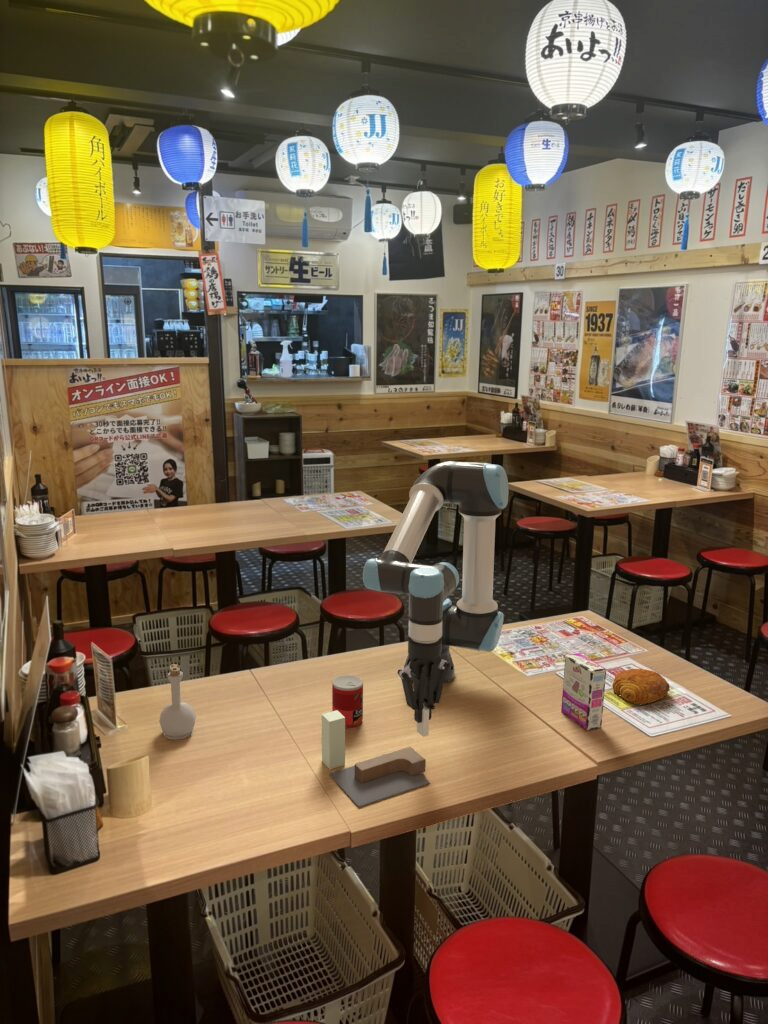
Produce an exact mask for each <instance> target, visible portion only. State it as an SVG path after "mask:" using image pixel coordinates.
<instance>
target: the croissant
mask: <svg viewBox="0 0 768 1024" xmlns="http://www.w3.org/2000/svg"><path fill="white" fill-rule="evenodd" d="M612 690H613V693H614V694H615V693H616V694H615V695H616V696H618V695H621V696H620V697H621V698H622V699H623V698H624V700H625V701H627V702H628V703H631V702H632V703H631V704H633V703H635V704H634V705H637V704H643V705H647V703H648V704H651V703H654V702H656V701H658V700H660V698H661V699H662V697H663V698H664V697H666V696H667V694H668V693H669V692H670V684H669V682H668V681H667V679H665V677H664V676H662V675H661V674H660V673H659V672H656V671H653V670H649V669H643V668H631V669H627V670H623V671H619V672H618V673H617V674H616V675H614V679H613V682H612Z"/></svg>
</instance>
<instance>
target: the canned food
mask: <svg viewBox="0 0 768 1024" xmlns="http://www.w3.org/2000/svg"><path fill="white" fill-rule="evenodd" d="M331 686H332V687H331V694H332V695H331V697H332V698H331V701H332V702H331V703H332V704H331V705H332V707H331V708H332V709H331V710H332V711H336V710H338V711H339V712H340V713H341V714H342V715H343V716H344V717H345V729H346V728H354V727H357V726H359V725H360V724H362V722H363V719H364V718H363V717H364V681H363V680H362V679H361V678H360V677H358V676H354V675H340V676H337V677H335V678H334V679H333V680H332V685H331ZM332 711H331V712H332Z"/></svg>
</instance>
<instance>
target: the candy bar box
mask: <svg viewBox="0 0 768 1024" xmlns="http://www.w3.org/2000/svg"><path fill="white" fill-rule="evenodd" d="M564 657H565V658H564V671H563V681H562V683H563V684H562V695H561V696H562V697H561V709H560V710H561V713H562V714H563V715H565V716H566V717H568V718H569V719H570V720H572V721H573V722H574V723H576V724H577V725H578V726H580V727H582V728H583V729H584V730H586V731H591V730H597V729H600V728H602V726H603V725H602V724H603V711H604V701H605V700H604V699H605V690H606V686H605V685H606V677H607V668H606V667H604V666H602V665H601V664H599V663H597V662H595V661H594V660H591V659H590V658H588V657H587V656H586V655H583V654H582V653H579V652H578V653H573V654H572V653H571V654H567V655H565V656H564Z"/></svg>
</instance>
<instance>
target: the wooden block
mask: <svg viewBox="0 0 768 1024" xmlns="http://www.w3.org/2000/svg"><path fill="white" fill-rule="evenodd" d="M426 762H427V761H426V758H424V757H423V756H422V755H421V754H420V753H418V752H417V750H415V749H414V748H413V747H412V746H407V747H405V748H401V749H398V750H395V751H393V752H392V751H391V752H389V753H385V754H382V755H379V756H375V757H373V758H369V759H367V760H363V761H359V762H356V763H355V764H354V766H355V778H356V779H357V780H358V781H359V782H360V783H365V782H368V781H371V780H374V779H377V778H380V777H383V776H386V775H389V774H392V773H395V772H399V771H404V772H407V773H409V774H410V775H411V776H415V775H418V774H421V775H422V774H424V773H426V765H427V763H426Z"/></svg>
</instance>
